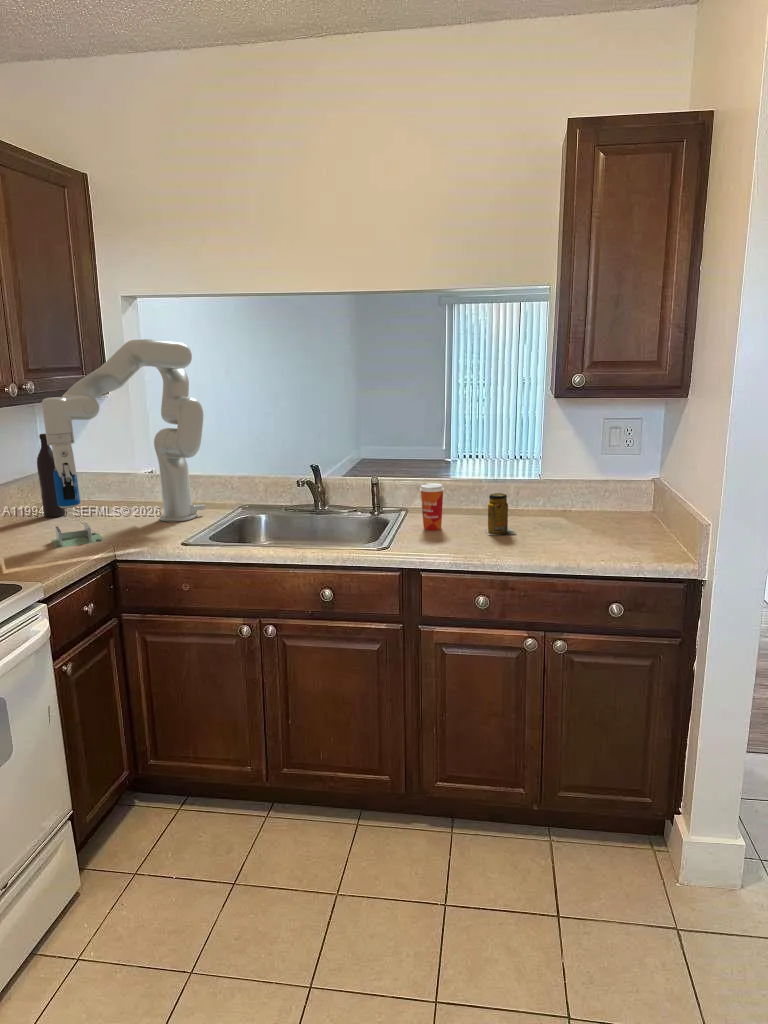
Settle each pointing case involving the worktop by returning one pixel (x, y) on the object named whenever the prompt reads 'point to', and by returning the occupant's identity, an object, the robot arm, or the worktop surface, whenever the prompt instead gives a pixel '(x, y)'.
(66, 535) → the bracket
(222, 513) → the worktop surface
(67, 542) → the deck plate
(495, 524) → the condiment
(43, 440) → the wine bottle
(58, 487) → the beverage can
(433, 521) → the paper cup
